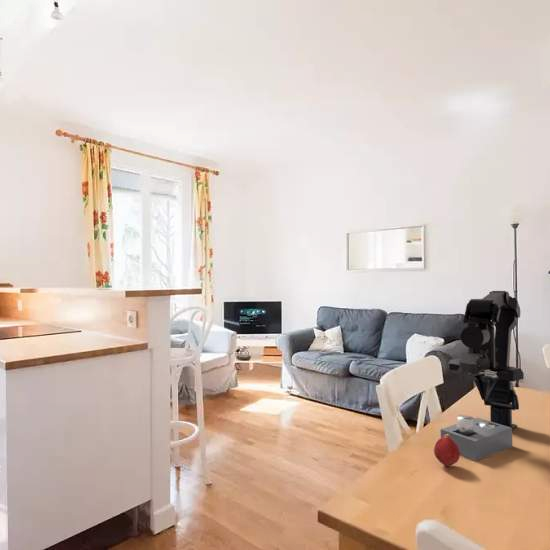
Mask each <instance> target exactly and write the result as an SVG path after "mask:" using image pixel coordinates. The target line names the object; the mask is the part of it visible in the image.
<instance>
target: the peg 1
mask: <svg viewBox="0 0 550 550" xmlns="http://www.w3.org/2000/svg"><path fill="white" fill-rule="evenodd" d="M473 419H474V417H473V416H470V415H468V414H457V415H456V424H457V433H458V434H461V435H464V436H467V437H469V436H472V435H474V432H473Z"/></svg>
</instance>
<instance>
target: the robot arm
mask: <svg viewBox="0 0 550 550" xmlns="http://www.w3.org/2000/svg"><path fill="white" fill-rule="evenodd" d="M519 318H521V308H520V305H519V302H518V300H517V299H515V298H513V297H512V296H511V295H510V293H509V292H508V291H506V290H491V291H489V293H488V294H487V295H486V296H484V297H482V298H471V299H470V300H468V302H467V304H466V306H465V311H464V317H463V320H462V322H463V324H466V325H467V326H466V327H465V328H463V329H462V331H461V333H460V341H461V343H462V344H463V345H464V346H465V347H467V348H468V352H467V354H465V355H463V357H461V358H452V359H450V360H449V361H448V370H451V371H457V372H458V371H460V373H465V374H466V376H468V377H469V378H471V379H472V380H473V382H474V383H475V386H476V388H477V391H478V394H479V396H480V399H481V400H482V401H483V405H484V406H489V407H490V420H489V421H491V422H494V423H497V424H501V425H504V426H508V427H511V428H512V430H513V429H515V428H517V427H518V425H517V424H514V423H513V411H516V410H518V411H519V409H520V404H519V397H518V394H517V393H516V390H515V385H514V383H513V382H517V381H520V380H524V371H523V370H522V368H520V367H515V366H510V359H511V358H510V355H511V346H512V345H511V342H512V341H511V340H512V332H513V330H514V329H515V328H516V326H518V323H519Z"/></svg>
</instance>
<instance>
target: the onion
mask: <svg viewBox="0 0 550 550" xmlns="http://www.w3.org/2000/svg"><path fill="white" fill-rule="evenodd" d="M433 448H434V449H433V453H434V456H435V458H436V459H437V461H438V462H440V463H441V464H442V465H443V466H445V467H446V468H450V467H452V466H453V465H454V464H456V463H458V462H459V460H460V456H461V455H460V450H459V447H458V446H457V444H456V443H455V442H454V441H453V440H452V439H450V436H449V434H446V435H445V436H444V437H442V438H441V437H440V438H439V439H438V440H437V441H436V443H435V444H434V447H433Z"/></svg>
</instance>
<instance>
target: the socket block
mask: <svg viewBox="0 0 550 550" xmlns="http://www.w3.org/2000/svg"><path fill="white" fill-rule="evenodd" d="M479 422H490V423H493V424H495V428H492V429H488V428H485V427H482V426H479ZM473 432H474V435H472V436H469V437H467V436H464V435H461V434H458V433H457V423H456V424H451V425H450V426H446V427H443V428H441V429H440V438H442V437H444V436H445V435H446V434H449V436H450V439H452V440H453V441H454V442H455V443H456V444H457V446H458V447H459V450H460V456H461V457H463V458H467V459H469V460H470V461H474V462H477V461H480V460H482V459H484V458H486V457H490V456H492V455H494V454H497V453H499V452H502V451H504V450H506V449H509V448H511V447H513V429H512V428H511V427H508V426H504V425H501V424H497V423H494V422H491V421H490V420H486V419H484V418H479V417H475V418H474V417H473Z"/></svg>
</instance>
